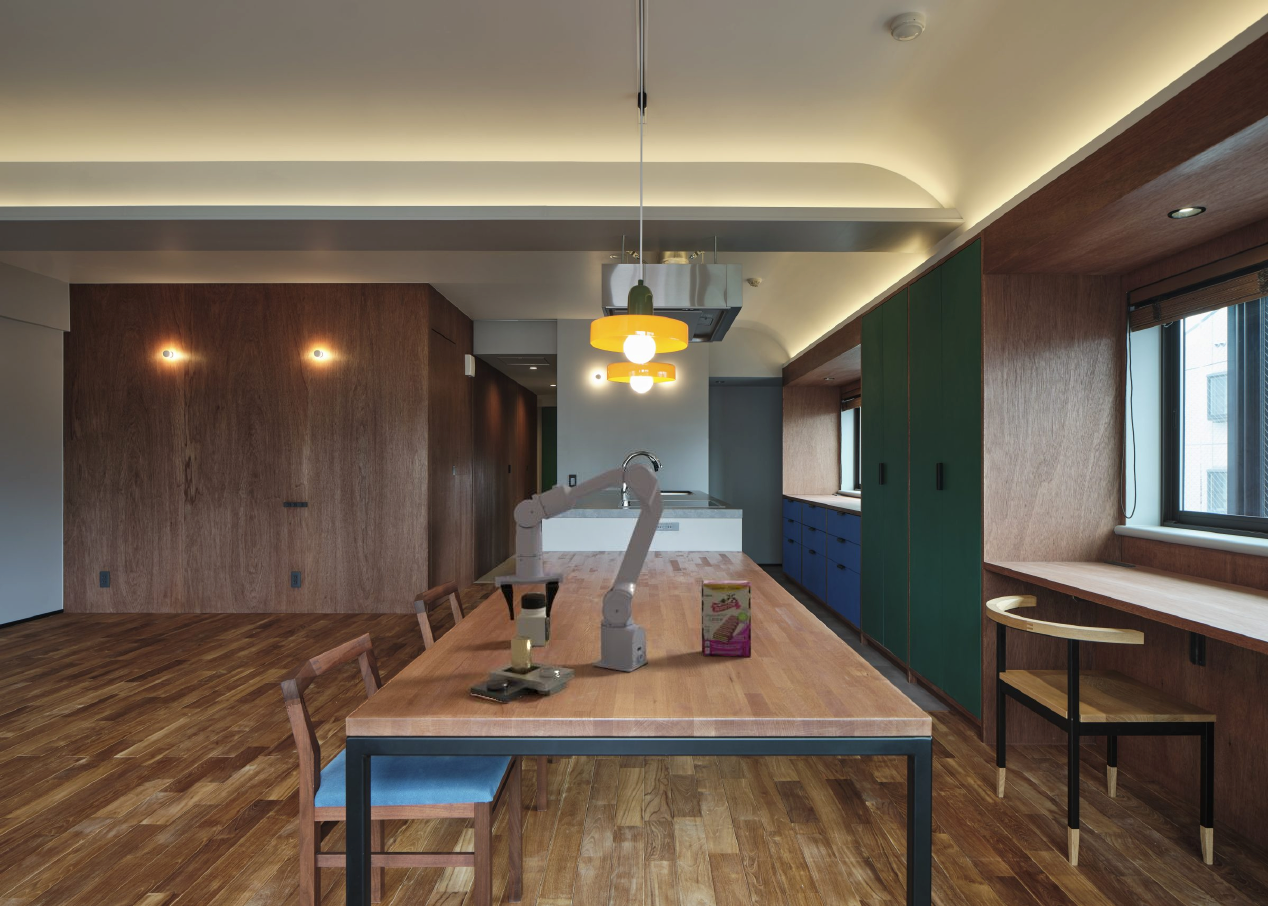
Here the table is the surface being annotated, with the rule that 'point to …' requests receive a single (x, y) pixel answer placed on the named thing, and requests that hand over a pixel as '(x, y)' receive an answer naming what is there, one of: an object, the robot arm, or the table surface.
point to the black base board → (500, 690)
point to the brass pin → (521, 655)
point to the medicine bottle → (534, 619)
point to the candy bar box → (726, 618)
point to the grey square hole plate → (536, 677)
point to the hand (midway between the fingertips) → (530, 618)
